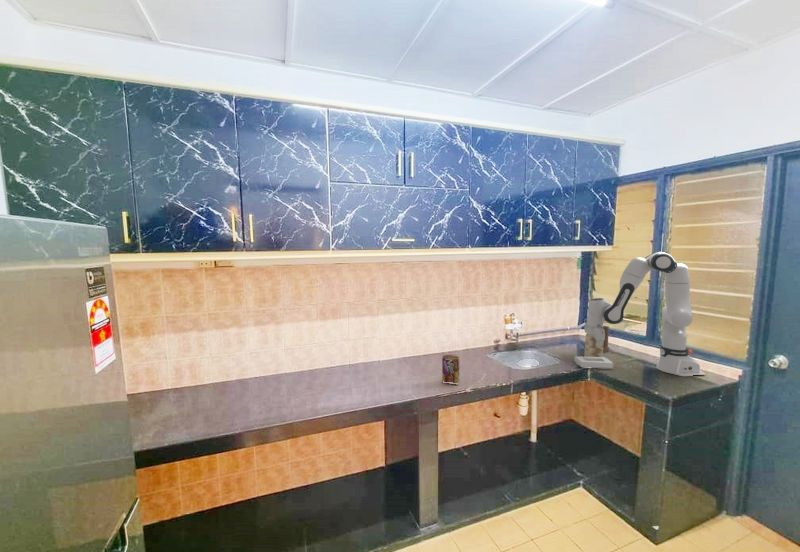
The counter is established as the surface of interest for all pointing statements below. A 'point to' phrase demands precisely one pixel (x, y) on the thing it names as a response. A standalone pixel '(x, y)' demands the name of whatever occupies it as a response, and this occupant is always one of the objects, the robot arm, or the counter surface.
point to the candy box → (450, 368)
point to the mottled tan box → (593, 347)
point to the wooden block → (606, 339)
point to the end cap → (594, 362)
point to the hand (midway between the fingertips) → (593, 343)
